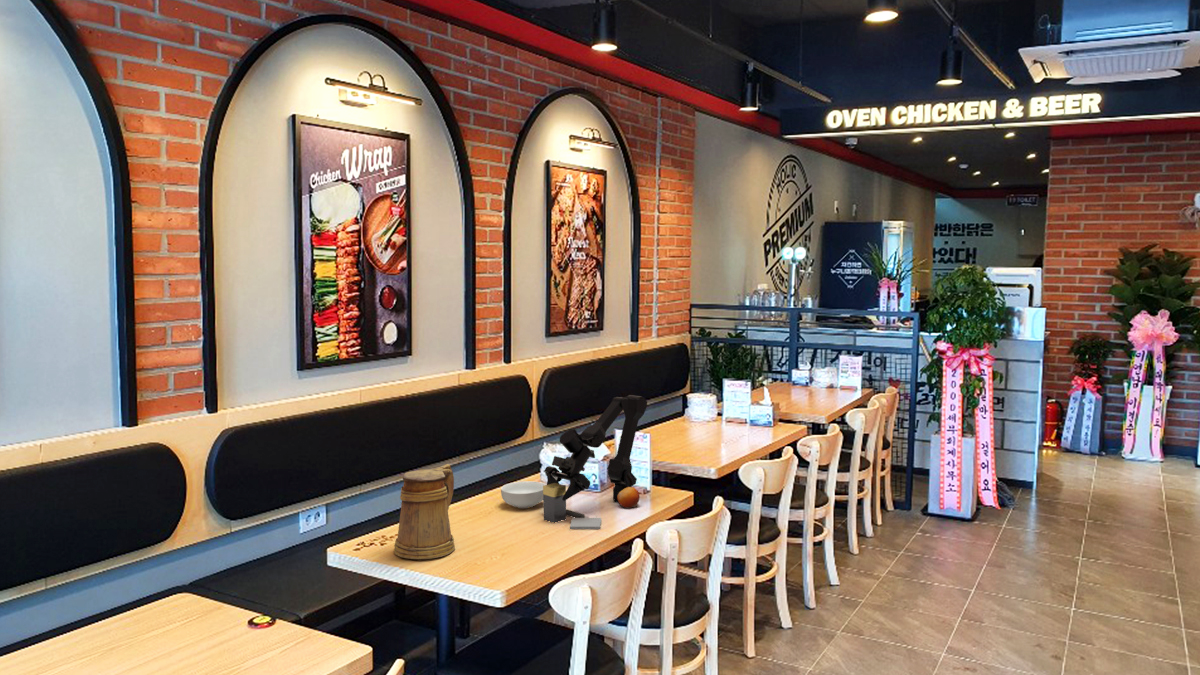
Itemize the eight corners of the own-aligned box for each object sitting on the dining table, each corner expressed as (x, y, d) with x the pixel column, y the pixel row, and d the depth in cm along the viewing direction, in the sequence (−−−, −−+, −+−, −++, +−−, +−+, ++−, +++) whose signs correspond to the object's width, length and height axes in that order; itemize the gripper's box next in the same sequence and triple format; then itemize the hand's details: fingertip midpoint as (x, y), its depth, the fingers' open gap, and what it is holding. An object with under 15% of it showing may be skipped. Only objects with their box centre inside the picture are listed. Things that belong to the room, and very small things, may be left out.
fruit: (645, 505, 317) (633, 486, 317) (626, 516, 318) (614, 497, 317) (644, 499, 325) (632, 480, 325) (626, 510, 326) (614, 491, 325)
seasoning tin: (555, 516, 310) (555, 482, 309) (566, 519, 306) (565, 485, 305) (543, 520, 306) (543, 485, 305) (554, 523, 302) (553, 488, 301)
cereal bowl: (504, 499, 333) (504, 480, 333) (549, 499, 332) (548, 480, 332) (497, 512, 316) (497, 492, 316) (544, 512, 316) (544, 492, 315)
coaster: (601, 520, 304) (601, 517, 304) (600, 529, 294) (600, 526, 294) (572, 520, 305) (572, 517, 304) (569, 529, 295) (569, 526, 295)
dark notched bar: (554, 512, 315) (554, 507, 315) (558, 511, 316) (558, 506, 316) (581, 520, 305) (581, 515, 305) (586, 519, 306) (585, 513, 306)
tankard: (381, 556, 270) (378, 475, 268) (430, 534, 291) (427, 459, 289) (429, 565, 262) (427, 481, 260) (475, 542, 283) (473, 464, 281)
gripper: (547, 443, 314) (523, 479, 307) (583, 451, 301) (559, 489, 294) (564, 461, 320) (541, 497, 313) (600, 470, 307) (577, 507, 300)
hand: (554, 497), depth 305 cm, fingers open, 9 cm apart
